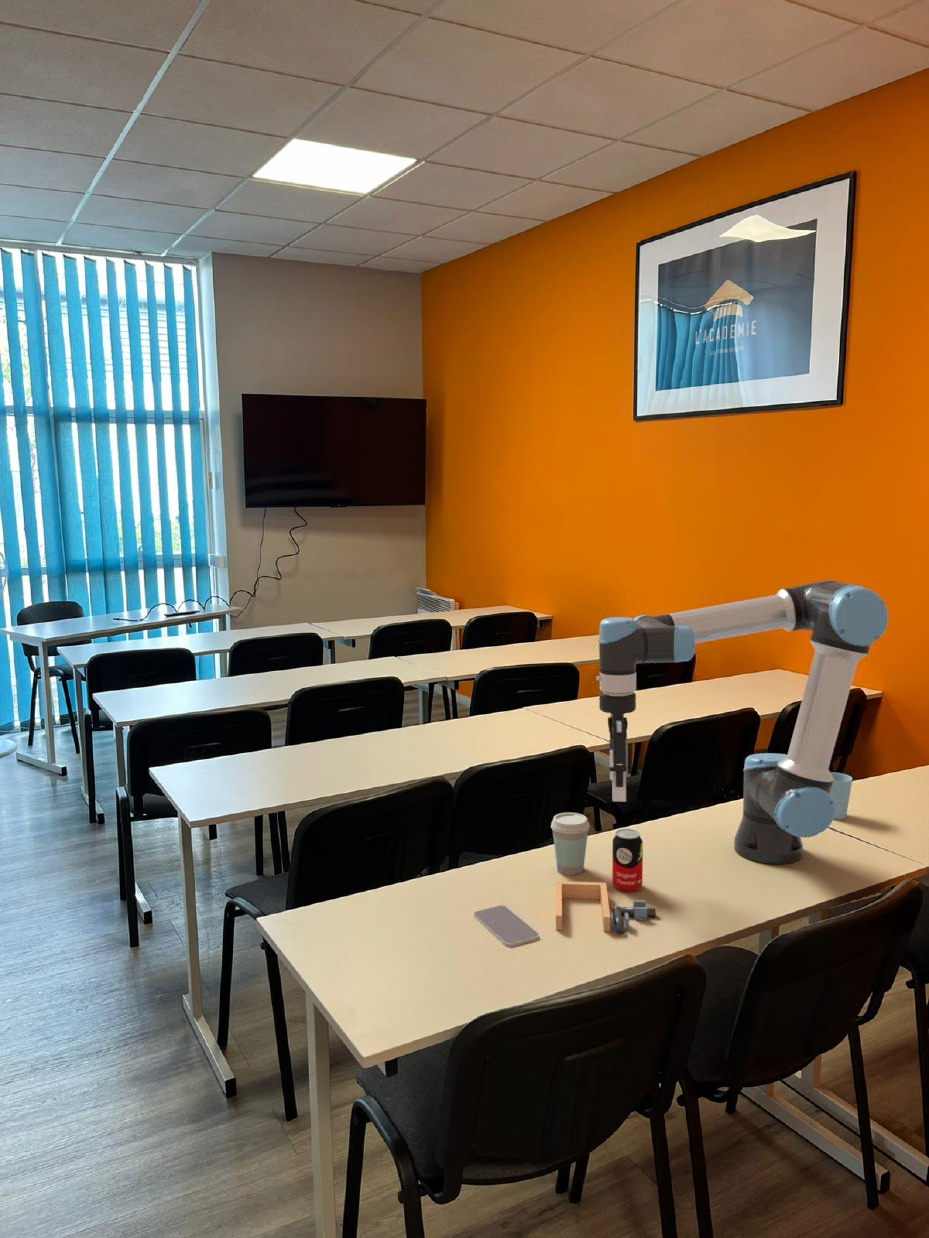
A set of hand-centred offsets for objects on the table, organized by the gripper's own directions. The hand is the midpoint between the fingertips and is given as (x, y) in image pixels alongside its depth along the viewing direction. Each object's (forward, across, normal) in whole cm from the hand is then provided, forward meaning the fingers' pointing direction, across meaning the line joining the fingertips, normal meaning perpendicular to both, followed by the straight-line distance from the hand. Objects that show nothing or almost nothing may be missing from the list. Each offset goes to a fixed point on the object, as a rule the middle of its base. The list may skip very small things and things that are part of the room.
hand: (617, 789), depth 190 cm
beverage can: (+21, +1, +2) cm, 21 cm away
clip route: (+21, +17, +2) cm, 27 cm away
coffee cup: (+21, -6, -10) cm, 24 cm away
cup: (+22, -45, +57) cm, 76 cm away
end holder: (+21, +14, -8) cm, 26 cm away
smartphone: (+21, +21, -23) cm, 37 cm away
